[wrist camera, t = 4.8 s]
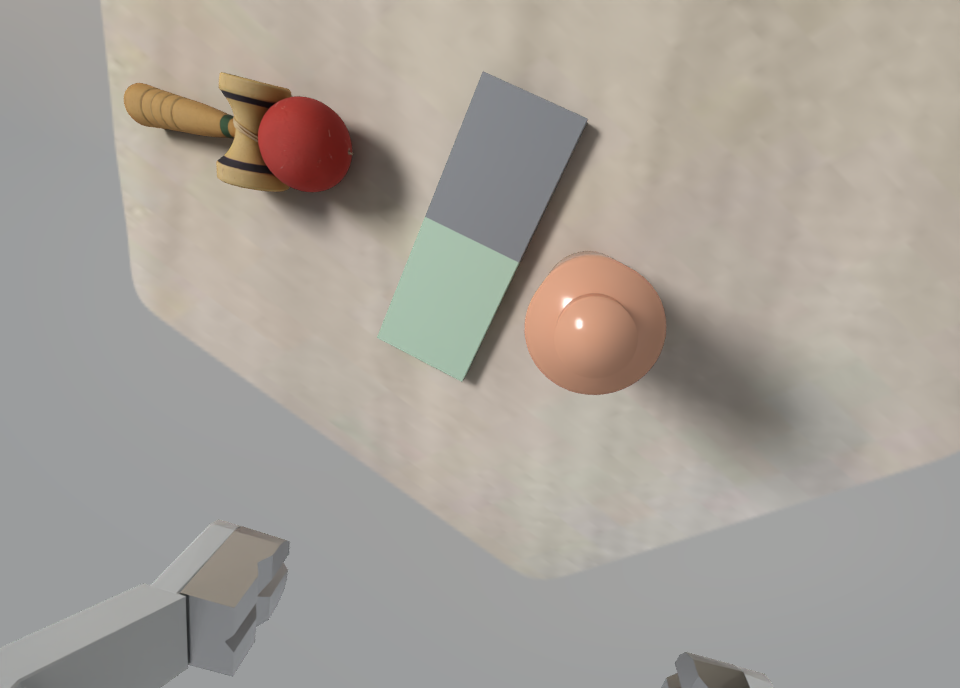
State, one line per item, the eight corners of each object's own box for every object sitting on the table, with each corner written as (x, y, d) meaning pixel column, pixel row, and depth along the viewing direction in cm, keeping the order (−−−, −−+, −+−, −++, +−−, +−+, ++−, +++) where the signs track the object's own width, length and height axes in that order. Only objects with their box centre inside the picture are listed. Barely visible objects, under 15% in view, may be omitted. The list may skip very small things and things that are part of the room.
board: (485, 76, 30) (482, 71, 29) (587, 122, 29) (587, 118, 28) (382, 335, 36) (377, 337, 35) (464, 377, 35) (461, 381, 34)
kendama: (175, 173, 38) (351, 224, 33) (91, 142, 32) (293, 198, 27) (196, 82, 37) (380, 120, 32) (114, 32, 31) (326, 69, 26)
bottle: (568, 236, 31) (562, 235, 17) (646, 274, 31) (708, 306, 16) (529, 312, 33) (495, 369, 19) (603, 349, 32) (625, 436, 18)
